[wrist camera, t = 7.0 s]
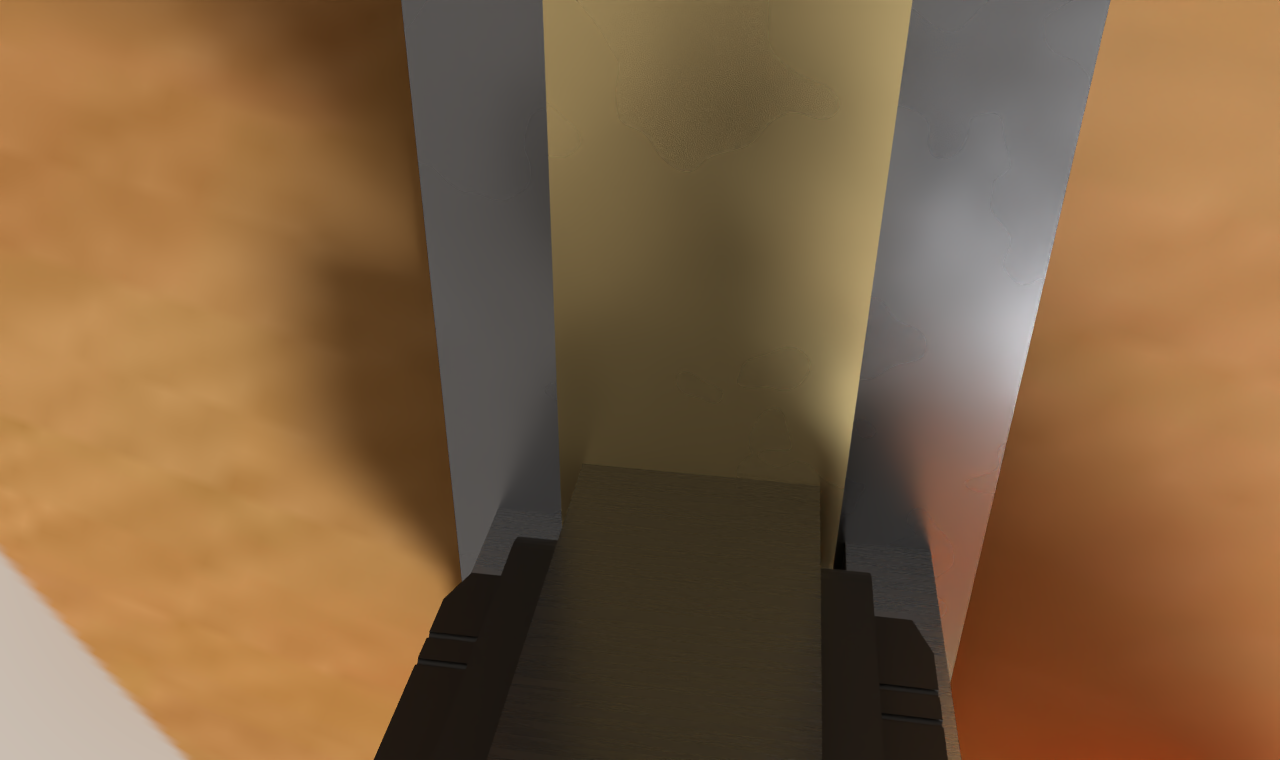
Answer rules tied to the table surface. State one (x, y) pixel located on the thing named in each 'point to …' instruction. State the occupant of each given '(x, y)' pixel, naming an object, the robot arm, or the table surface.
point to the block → (702, 366)
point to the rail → (900, 300)
